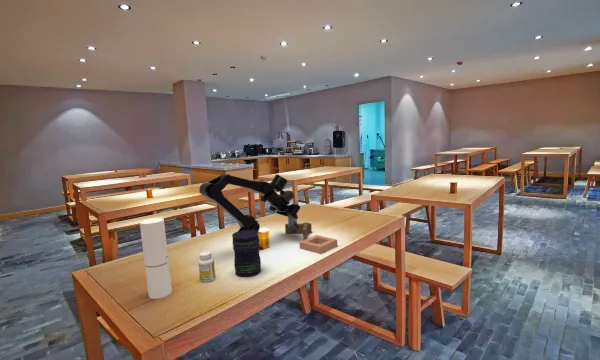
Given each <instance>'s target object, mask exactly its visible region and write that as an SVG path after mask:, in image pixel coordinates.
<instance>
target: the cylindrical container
mask: <svg viewBox="0 0 600 360" xmlns="http://www.w3.org/2000/svg"><path fill="white" fill-rule="evenodd" d="M139 227H140V228H139V229H140V236H141V237H140V238H141V245H142V252H143V260H144V261H143V262H144V270H145V276H146V278H145V279H146V285H147V294H148V298H149V299H150V300H151V299H152V300H158V299H163V298H167V297H168V296H170V295H171V294H172V293H173V290H172V289H173V287H172V281H171V270H170V262H169V251H168V245H167V244H168V243H167V234H166V228H165V227H166V225H165V220H164V217H163V218H162V217H153V218H152V217H151V218H148V219H143V220H141V221H140V222H139Z"/></svg>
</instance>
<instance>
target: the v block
mask: <svg viewBox="0 0 600 360" xmlns="http://www.w3.org/2000/svg"><path fill="white" fill-rule="evenodd" d="M284 224H285V226H284V228H285V229H284V231H285V235H295V234H296V235H299V234H300V235H301V234H302V238H303V240H306V239H308V236H309V235H310V234H312V233H313V231H312V230H313V229H312V228H313V227H312V223H310V222H307V221H306V222H302V223H301V222H300V223H297V230H298V231H297V232H289V227H288V223H284ZM303 240H302V241H303Z"/></svg>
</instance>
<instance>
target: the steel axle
mask: <svg viewBox="0 0 600 360" xmlns="http://www.w3.org/2000/svg"><path fill="white" fill-rule="evenodd" d="M288 205H289V206H290V205H291V204H288ZM287 224H288V227H289V232H297V231H298V230H297V224H298V219H295V218H291V217H287Z"/></svg>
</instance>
